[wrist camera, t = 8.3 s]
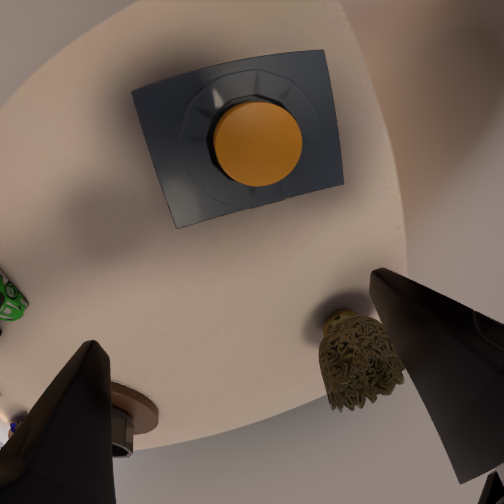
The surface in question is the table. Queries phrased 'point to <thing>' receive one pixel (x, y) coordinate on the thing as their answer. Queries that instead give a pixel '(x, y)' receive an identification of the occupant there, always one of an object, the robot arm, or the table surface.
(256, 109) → the button
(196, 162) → the button box
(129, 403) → the turntable
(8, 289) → the toy car
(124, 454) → the black faceted container
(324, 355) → the cup
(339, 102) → the table surface
